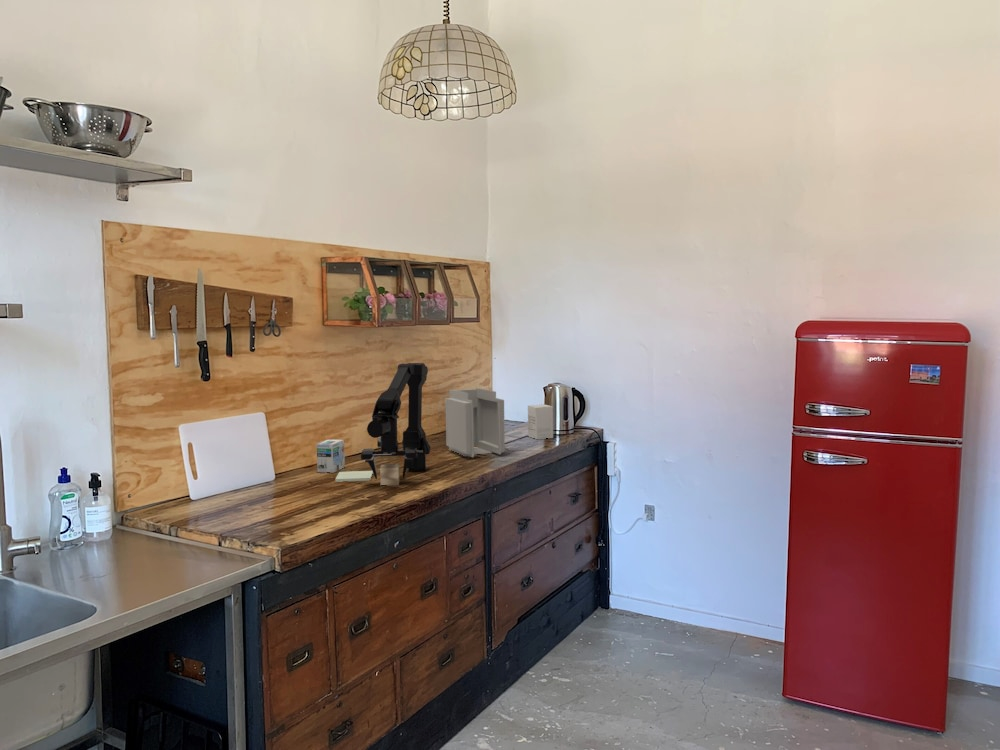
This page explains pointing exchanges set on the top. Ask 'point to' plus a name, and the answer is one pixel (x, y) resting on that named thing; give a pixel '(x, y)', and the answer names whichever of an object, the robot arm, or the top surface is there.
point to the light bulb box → (330, 455)
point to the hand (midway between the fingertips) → (390, 478)
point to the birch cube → (389, 474)
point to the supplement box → (540, 421)
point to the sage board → (354, 476)
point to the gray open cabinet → (475, 422)
